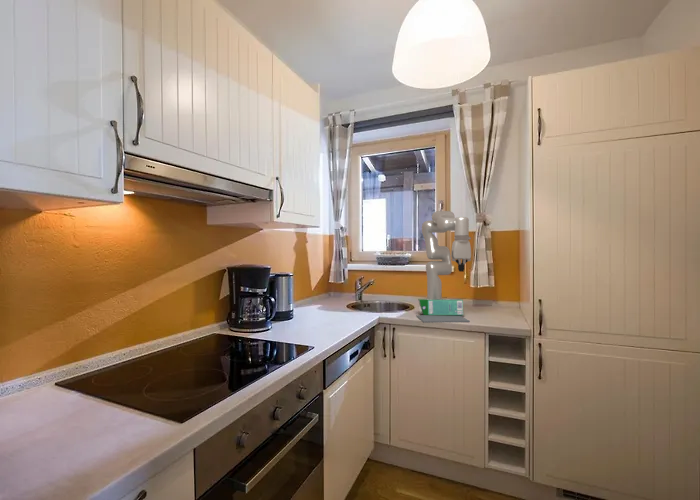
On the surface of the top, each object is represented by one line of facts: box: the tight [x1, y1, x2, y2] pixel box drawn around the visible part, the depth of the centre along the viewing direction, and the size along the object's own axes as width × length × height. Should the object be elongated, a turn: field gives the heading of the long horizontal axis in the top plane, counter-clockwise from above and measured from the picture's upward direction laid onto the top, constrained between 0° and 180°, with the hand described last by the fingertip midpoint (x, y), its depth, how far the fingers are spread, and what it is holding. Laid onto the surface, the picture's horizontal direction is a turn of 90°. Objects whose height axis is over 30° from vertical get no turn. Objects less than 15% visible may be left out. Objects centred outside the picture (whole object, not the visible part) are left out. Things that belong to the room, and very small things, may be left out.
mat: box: [415, 314, 470, 323], centre depth 180 cm, size 16×25×1 cm, turn 91°
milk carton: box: [417, 298, 464, 316], centre depth 192 cm, size 9×9×25 cm
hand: (461, 271), depth 182 cm, fingers closed
